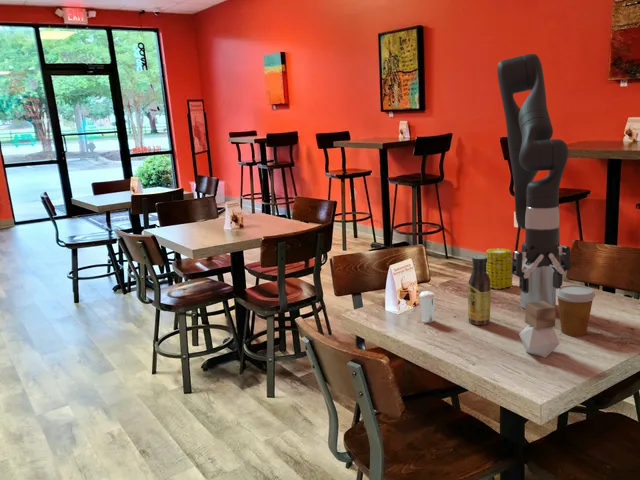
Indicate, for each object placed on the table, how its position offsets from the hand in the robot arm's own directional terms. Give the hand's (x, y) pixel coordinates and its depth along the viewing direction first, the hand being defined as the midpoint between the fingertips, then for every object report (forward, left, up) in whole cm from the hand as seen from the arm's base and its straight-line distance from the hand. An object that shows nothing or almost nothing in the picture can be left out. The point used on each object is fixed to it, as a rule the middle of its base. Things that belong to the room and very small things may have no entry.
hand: (540, 289), depth 135 cm
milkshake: (+17, -30, -17) cm, 38 cm away
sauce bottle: (+4, -24, -17) cm, 30 cm away
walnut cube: (0, 0, -9) cm, 9 cm away
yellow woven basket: (-18, -53, -17) cm, 58 cm away
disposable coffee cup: (-16, -9, -17) cm, 25 cm away
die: (0, 0, -17) cm, 17 cm away
